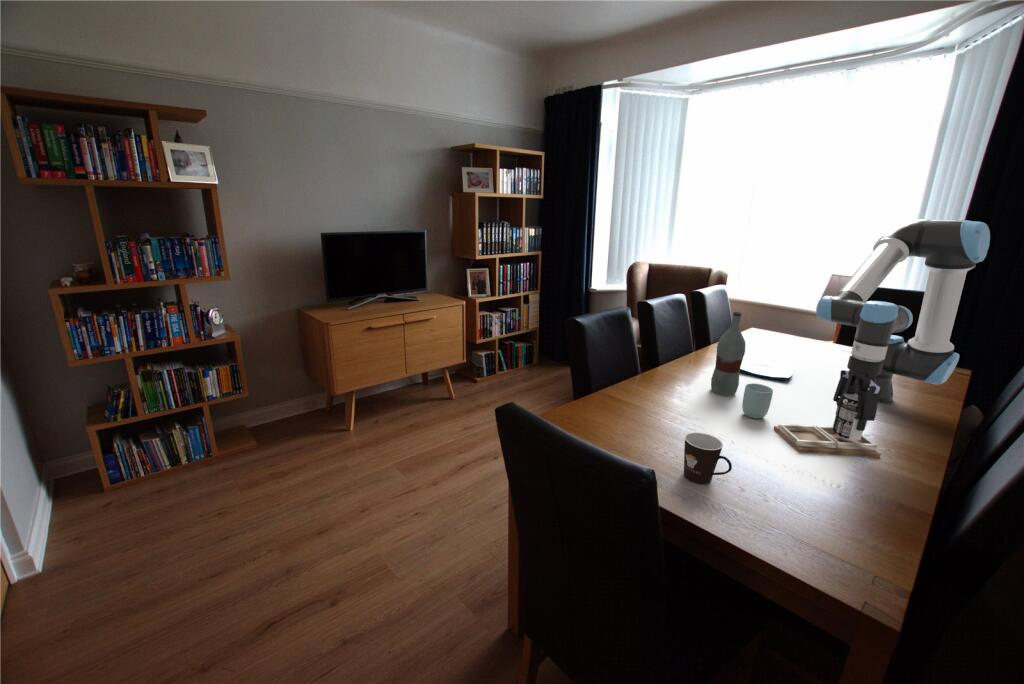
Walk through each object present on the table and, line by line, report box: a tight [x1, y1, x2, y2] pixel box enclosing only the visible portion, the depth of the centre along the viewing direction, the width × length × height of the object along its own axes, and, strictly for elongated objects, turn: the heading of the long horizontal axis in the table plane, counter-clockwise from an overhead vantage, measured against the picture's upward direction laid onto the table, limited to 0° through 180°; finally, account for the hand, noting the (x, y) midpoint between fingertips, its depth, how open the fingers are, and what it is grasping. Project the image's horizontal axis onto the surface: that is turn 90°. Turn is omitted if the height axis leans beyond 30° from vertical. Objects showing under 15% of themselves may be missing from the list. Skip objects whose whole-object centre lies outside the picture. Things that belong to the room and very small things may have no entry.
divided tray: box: [773, 423, 882, 458], centre depth 133 cm, size 22×14×3 cm, turn 87°
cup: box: [741, 382, 774, 420], centre depth 148 cm, size 8×8×10 cm
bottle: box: [710, 311, 746, 397], centre depth 164 cm, size 9×9×30 cm
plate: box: [739, 356, 793, 381], centre depth 192 cm, size 20×20×3 cm
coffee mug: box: [683, 432, 733, 485], centre depth 110 cm, size 12×9×10 cm
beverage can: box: [832, 393, 858, 439], centre depth 131 cm, size 7×7×12 cm
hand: (846, 433), depth 132 cm, fingers closed on beverage can, 6 cm apart
